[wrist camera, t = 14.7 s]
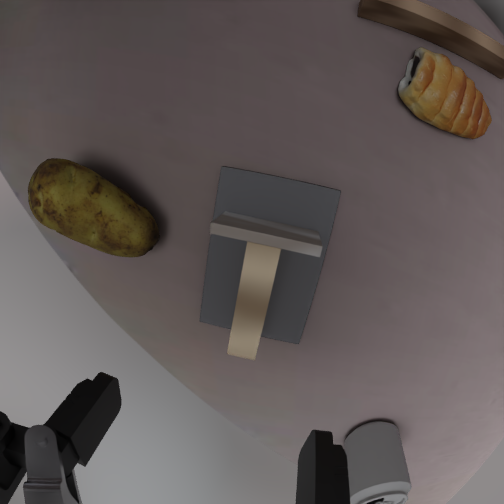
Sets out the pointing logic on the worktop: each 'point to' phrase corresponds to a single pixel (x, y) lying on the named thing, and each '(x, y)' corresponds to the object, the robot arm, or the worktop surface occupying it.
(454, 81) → the pastry
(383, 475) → the can
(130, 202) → the potato
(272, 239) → the scraper
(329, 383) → the worktop surface
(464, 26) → the rail
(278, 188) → the mat
